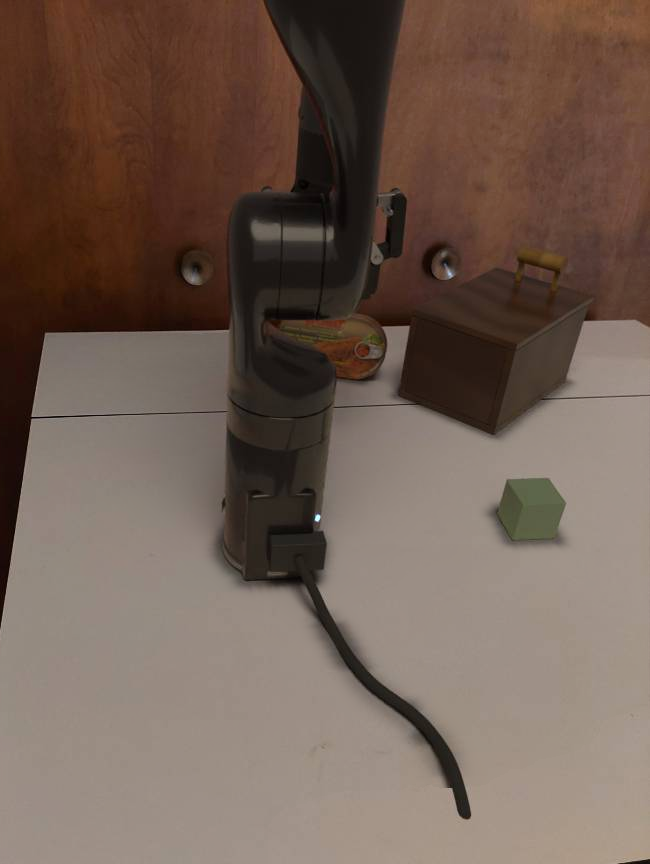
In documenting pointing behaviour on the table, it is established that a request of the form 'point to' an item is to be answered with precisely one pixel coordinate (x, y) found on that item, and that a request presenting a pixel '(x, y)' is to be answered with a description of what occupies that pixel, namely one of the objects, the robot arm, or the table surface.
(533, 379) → the chest
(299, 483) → the robot arm
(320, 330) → the tin
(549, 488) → the block
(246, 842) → the table surface
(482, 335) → the lid
